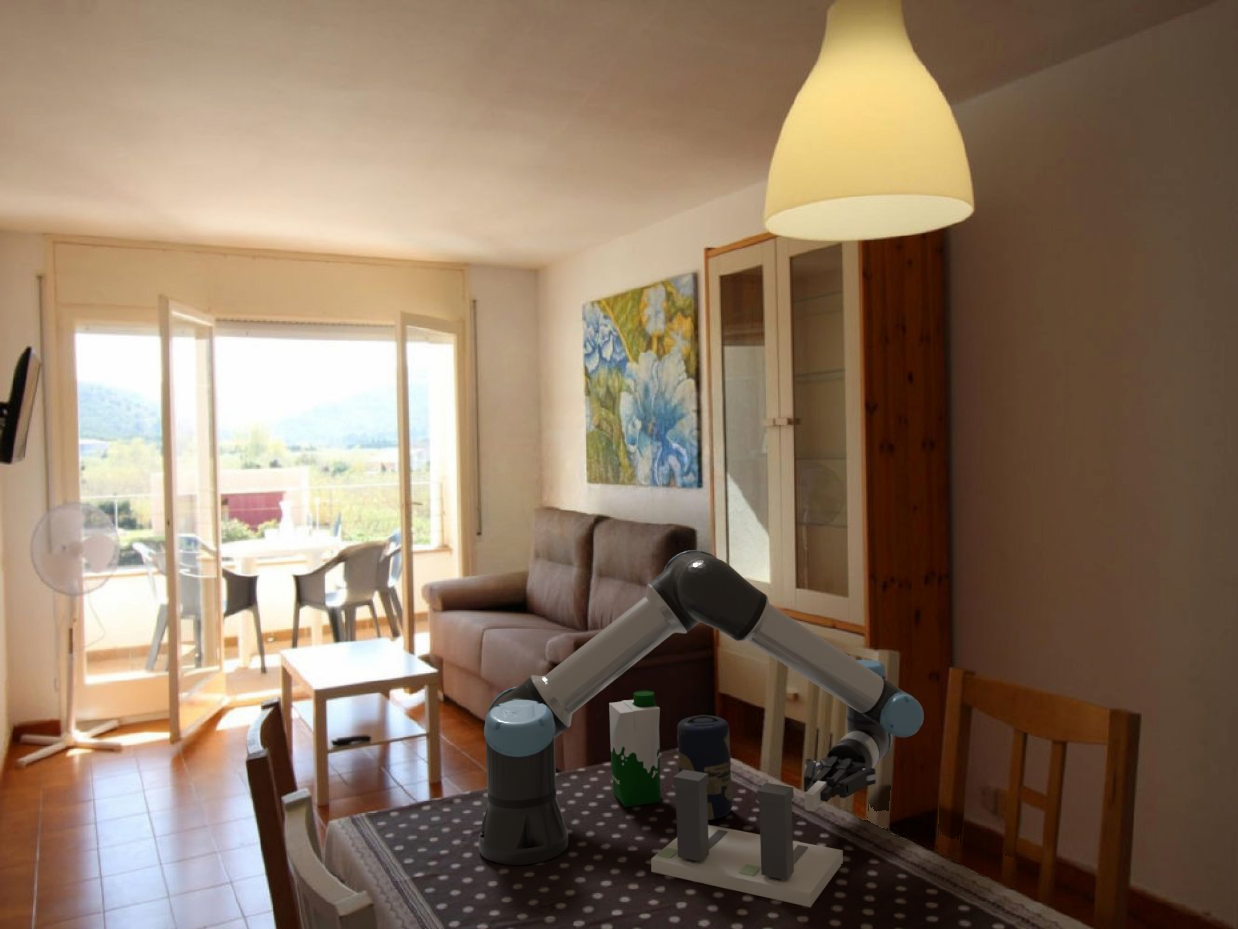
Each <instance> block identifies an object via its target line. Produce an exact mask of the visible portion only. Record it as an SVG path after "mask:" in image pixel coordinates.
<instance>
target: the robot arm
mask: <svg viewBox="0 0 1238 929" xmlns="http://www.w3.org/2000/svg"><path fill="white" fill-rule="evenodd" d="M646 585H647V586H646V592H645V596H644V597H642V598H641V599H640V600H638V601H637V602H636V603H635V604H633V605H632V606H631V607H630V608H629V609H627V610H626V611H625V612H624V613H622V614H621V615H620V616H618V617H617V618H616V619H615V620H614V621H612V622H610V623H609V624H608V625H607V626H606V627H605V628H603V629H602V630H600V632H598V633H597V634H596V635H595V636H593V637H592V638H591V639H590V640H588V641H587V642H586V643H584V645H581V647H579V648H578V649H577V650H575V651H574V652H572V654H570V655H569V656H568V657H567V658H565V659H564V660H563V661H562V662H560V663H559V664H558V665H557V666H555V667H554V668H553V669H552V670H551V671H549V672H548V673H547V674H545V675H542V676H541V675H537V674H532V675H530V676H529V677H528V678H527V679H526V680H524V681H523V682H522V683H521V684H519V685H518V686H514V687H510V688H508V689H506V690H504V691H503V692H501V693H500V694H499V695H498V696H496V698H494V700H493V701H492V703H491V704H490V706H489V708H488V711H487V712H486V714H487V715H486V716H485V723H484V727H483V733H484V734H483V736H484V739H485V755H486V756H485V757H486V758H485V759H486V760H485V761H486V788H487V806H486V809H485V813H484V816H483V821H482V824H481V827H480V831H479V834H478V851H479V854H480V853H481V854H480V855H481V857H483V858H484V859H486V860H487V861H490V862H492V861H494V862H493V863H495V862H496V863H495V864H500V863H501V865H507V866H509V865H510V866H517V865H518V866H521V865H522V866H523V865H533V864H538V863H543V862H546V861H548V860H551V859H553V858H556V857H558V856H560V855H561V854H563V853H564V852H565V851H566V849H567V848H568V847H569V829H568V825H567V824H566V823H565V819H564V816H563V812H562V810H561V806H560V804H559V801H558V798H557V796H558V795H557V775H556V772H557V771H556V770H557V769H556V749H555V748H556V746H555V745H556V744H555V739H556V738H557V737H559V736H560V735H561V734H562V733H563V732H564V731H566V730H567V729H568V728H570V727H571V723H572V718H573V714H574V713H575V712H577V710H579V709H581V707H583V706H585V704H587V702H589V701H590V700H592V699H593V698H594V697H595V696H596V695H598V694H599V693H600V692H601V691H603V690H604V689H606V688H607V686H609V685H610V684H611V683H613V682H614V681H615V680H616V679H618V678H619V677H620V676H622V675H623V674H624V673H625V672H626V671H627V670H629V669H631V667H633V666H634V665H635V664H636V663H638V662H639V661H641V659H643V658H644V657H645V656H647V655H648V654H650V652H652V651H653V650H654V649H655V648H656V647H658V646H659V645H660V644H661V643H663V642H664V641H665V640H666V639H668V638H669V637H670V636H671V635H673V634H675V633H677V634H678V633H679V634H688V632H690V631H691V630H692V629H693V628H694V627H695V626H697V625H698V624H700V623H702V624H704V625H707V626H709V627H710V628H711V627H712V628H713V629H716V630H717V631H720V632H721V633H723V634H725V635H726V636H729V637H730V638H732V639H733V640H735V641H736V642H739V643H740V642H745V641H747V642H749V643H751V644H752V645H754V646H755V647H756V648H758V649H760V650H761V651H762V652H765V653H766V654H768V655H769V656H771V657H772V658H773V659H775V660H777V661H778V662H779V663H782V664H784V666H786V667H787V668H789V669H791V670H792V671H794V672H796V673H797V674H799V675H800V676H801V677H802V678H805V679H807V680H808V681H810V682H811V683H813V685H816V686H817V687H819V688H821V689H822V690H823V691H825V692H827V693H828V694H830V695H831V696H833V697H835V698H836V699H837V700H839V701H841V702H842V703H843V704H845V706H846V731H847V732H846V734H844V736H843V737H842V738H841V739H839V740H838V741H837V742H836V743H835V744H834V745H833V746H832V747H831V748H830V750H829V751H828V752H827V755H826V757H824V758H821V759H820V760H819V762H817V761H816V760H813V759H811V758H806V759H805V761H804V762H805V766H804V767H805V771H804V774H803V791H804V792H805V793H804V807H805V808H804V810H805V811H808V812H815V811H816V810H817V809H818V808H819V807H820V806H821V805H822V804H824V803H823V802H829V801H830V800H831V799H833V798H836V796H839V798H840V799H847V797H849V796H851V795H853V794H855V793H857V792H858V791H860V790H862V789H863V788H866V787H868V786H871V785H876V782H877V779H876V768H875V766H876V765H877V764H878V763H879V762H880V761H881V760H882V759H883V758H884V757H885V756H887V754H888V753H889V751H890V749H891V747H892V744H893V741H892V740H894V737H893V736H895V737H898V738H908V737H911V736H913V735H915V734H916V733H917V732H918V731H919V730H920V728H921V727H922V725H923V722H924V717H925V716H924V715H925V714H924V709H923V706H922V704H921V703H920V702H919V700H917V699H916V698H915V697H914V696H913V695H911V694H910V693H909V692H905V691H903V690H902V689H901V688H899V687H897V686H896V685H895V684H893V683H891V682H890V681H888V680H887V674H886V666H885V664H884V663H882V662H881V661H878V660H872V659H857V660H856V659H855V658H853V657H851V656H850V655H849V654H847V653H845V652H844V651H842V650H841V649H839V648H838V647H836V646H834V645H833V644H832V643H830V642H829V641H827V640H825V639H824V638H822V637H821V636H820V635H818V634H816V633H815V632H813V631H812V630H810V629H809V628H807V627H806V626H804V625H802V624H801V623H799V621H796V620H795V619H794V618H792V617H790V616H789V615H788V614H785V613H784V612H782V611H781V610H780V609H778V608H777V607H776V606H774V605H772V604H771V603H770V602H769V597H768V595H767V594H766V593H764V592H763V591H761V590H759V589H758V588H757V587H755V585H753V584H752V583H750V581H748V580H747V579H746V578H744V577H743V576H742V575H741V574H740V573H739V572H737V570H735V569H734V568H733V567H732V566H731V565H730V564H728V563H727V562H725V561H724V560H723V559H720V558H718V557H717V556H715V555H713V554H711V553H709V552H707V551H704V550H697V549H696V550H695V549H694V550H685V551H683V552H680V553H678V554H676V555H675V556H673V557H672V558H671V559H670V560H669V561H668V563H666V565H665V566H664V568H663V571H662V572H661V573H659V574H658V575H657V576H656V577H655V578H653V579H652V580H651V581H650V582H648V583H647V584H646ZM818 771H819V772H818ZM817 773H818V774H817Z"/></svg>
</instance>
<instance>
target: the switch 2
mask: <svg viewBox="0 0 1238 929" xmlns="http://www.w3.org/2000/svg"><path fill="white" fill-rule="evenodd" d="M793 799H794V787H793V786H787V785H781V784H776V783H769V782H765V783H764V784H762V785H761V786H760V787H759V788H758V789H757V790H756V802H758V803H759V804H758V807H759V835H760V844H761V875H764V876H769V877H774V878H779V879H783V880H788V878H789V877H790V876H791V875H792V873H793V872H794V862H793V841H794V837H793V836H794V835H793V803H792V800H793Z"/></svg>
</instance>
